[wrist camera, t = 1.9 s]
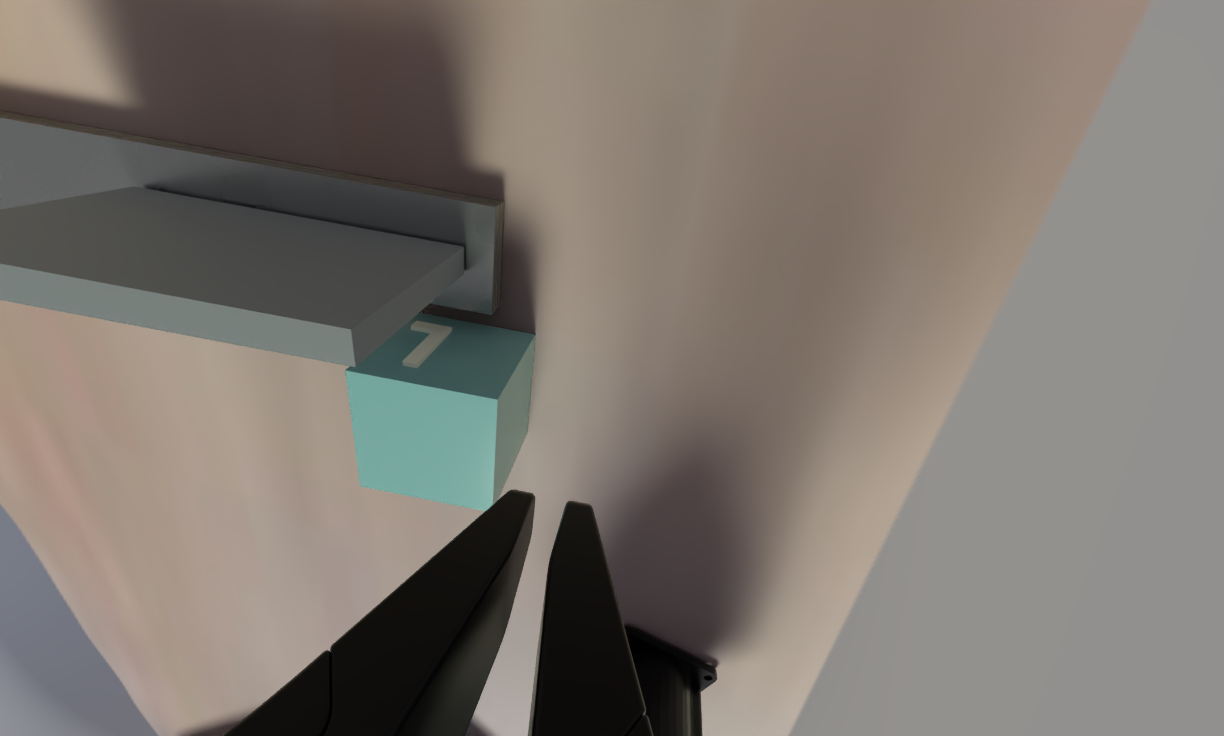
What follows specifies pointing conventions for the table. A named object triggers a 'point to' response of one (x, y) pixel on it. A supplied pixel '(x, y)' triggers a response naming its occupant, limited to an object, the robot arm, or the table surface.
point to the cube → (442, 410)
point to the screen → (221, 271)
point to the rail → (252, 191)
